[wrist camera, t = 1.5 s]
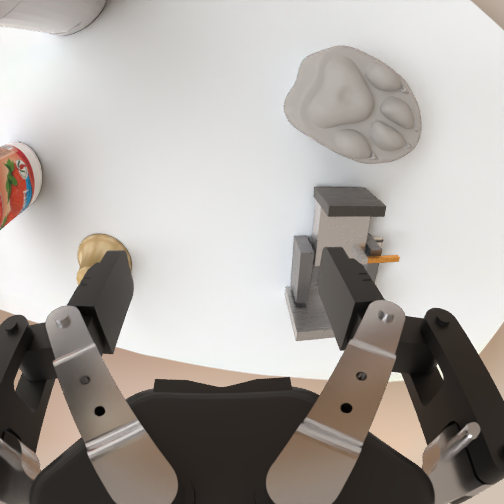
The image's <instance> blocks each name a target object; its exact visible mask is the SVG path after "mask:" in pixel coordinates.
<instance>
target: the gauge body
mask: <svg viewBox="0 0 504 504" xmlns="http://www.w3.org/2000/svg"><path fill="white" fill-rule="evenodd" d="M382 242H383V237H372V236H371V235H370V234H368V235H367V240H366V245H365V251H364V253H365V255H366V256H367V257H370V256H381V253H382V248H381V245H382ZM313 258H314V251H313V249H312V247H311V244H310V242H309V240H308V238H307V236H294V244H293V259H292V272H291V287H285V298H286V302H287V306H288V310H289V314H290V319H291V323H292V327H293V331H294V335H295V339H296V341H302V340H313V339H323V338H332V337H335V335H334V333H333V330H332V327H331V324H330V322H329V319H328V316H327V314H326V311H325V309H324V306H323V303H322V301H321V298H320V296H319V293H318V287H317V285H312V286H310V284H311V275H312V267H313ZM362 265H363V266H364V268H365V269H366V271H367V272H368V274H369V276H370V277H371V279H372V281H373V282H375V278H376V274H377V270H378V266H379V263H367V264H362Z"/></svg>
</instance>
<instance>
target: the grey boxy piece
mask: <svg viewBox="0 0 504 504" xmlns="http://www.w3.org/2000/svg"><path fill="white" fill-rule="evenodd" d="M314 198H315V210H314V222H313V233H312V243H311V247H312V249H313V251H314V258H313V264H314V266H320V261H321V255H322V250H323V248H324V247H343V249H344V250H345V252H346V254H347V255H348V257H349V258H354V259H355V260H357V261H358V262H359V263H361V264H367V263H383V262H399V258H400V257H399V256H398V255H389V256H370V257H367V256H366V255H365V253H364V251H365V245H366V240H367V235H368V229H369V223H370V217H384V216H385V210H386V206H385V205H384V204H383V203H382V202H381V201H380V200H378V199H377V198H376V197H375V196H374V195H373V194H372V193H370V192H369V191H368V190H367V189H366V188H353V187H314Z"/></svg>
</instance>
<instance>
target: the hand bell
mask: <svg viewBox="0 0 504 504" xmlns="http://www.w3.org/2000/svg"><path fill="white" fill-rule="evenodd" d="M108 250H125V251H126V253H127V257H128V262H129V266H130V271H131V267H132V264H131V258H130V255H129V253H128V251H127V250H126V248H125V247H124V246H123V245H122V244H121V243H120V242H119V241H118V240H116V239H115V238H113V237H111V236H108V235H105V234H93V235H90V236H88V237H86V238H85V239H84V240H83V241H82V242H81V244H80V246H79V248H78V262H79V265H80V268H79V271H78V273H77V283H78V285H79V283H80V282H81V280H82V279H83V277H84V275H85V273H86V272H87V270H88V269H89V268H90V267H92V266H93V265H94V264H95V263H96V262H100V261H101V260H102V258H103V256H104V255H105V253H106V252H107V251H108Z"/></svg>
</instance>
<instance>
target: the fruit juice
mask: <svg viewBox="0 0 504 504" xmlns="http://www.w3.org/2000/svg"><path fill="white" fill-rule="evenodd" d="M41 185H42V170H41V165H40V162H39V160H38V158H37V156H36V154H35V153H34V152H33V150H32V149H31V148H30V147H28V146H27V145H25V144H22V143H17V142H15V143H9V144H6V145H4V146H1V147H0V230H1V229H2V228H3V227H4V226H6V225H7V224H8V223H9V222H10V221H11V220H13V219H14V218H15V217H16V216H17V215H19V214H20V213H21V212H22V211H24V210H25V209H26V208H27V207H29V206H30V205H31V204H32V203H33V202H34V201H35V199H36V198H37V196H38V194H39V192H40V189H41Z"/></svg>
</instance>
